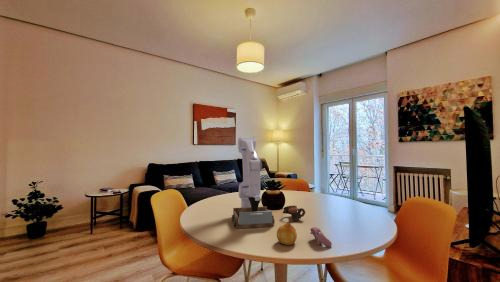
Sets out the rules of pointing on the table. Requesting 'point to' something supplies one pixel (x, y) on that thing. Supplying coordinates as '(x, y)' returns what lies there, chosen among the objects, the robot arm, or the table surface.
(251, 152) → the robot arm
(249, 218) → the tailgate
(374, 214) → the table surface
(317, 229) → the pink animal figurine
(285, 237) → the fruit
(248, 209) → the cart bed
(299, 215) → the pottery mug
